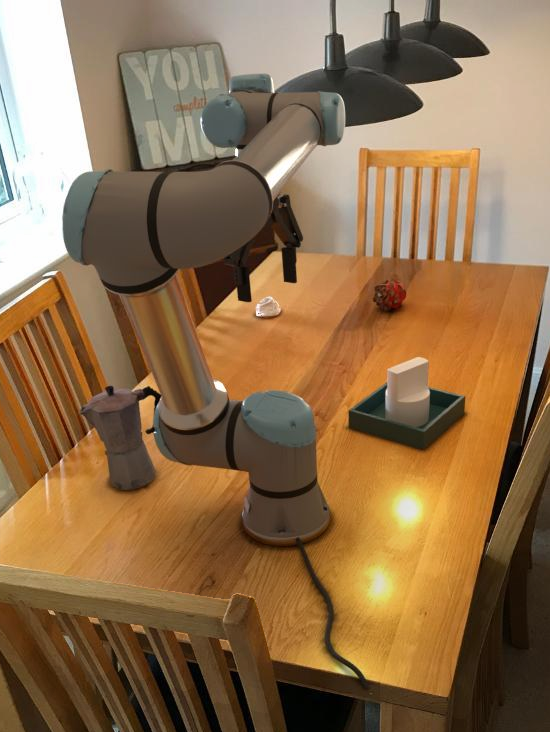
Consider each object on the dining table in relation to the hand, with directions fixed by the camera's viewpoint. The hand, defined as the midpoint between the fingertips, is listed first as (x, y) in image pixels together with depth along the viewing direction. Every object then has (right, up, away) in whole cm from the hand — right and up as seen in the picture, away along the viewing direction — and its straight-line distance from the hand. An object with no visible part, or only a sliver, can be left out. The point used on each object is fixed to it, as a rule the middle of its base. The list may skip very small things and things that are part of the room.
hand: (268, 291), depth 159 cm
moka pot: (-26, -35, +4) cm, 44 cm away
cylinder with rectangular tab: (+29, -22, +16) cm, 40 cm away
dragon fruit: (+31, +14, +69) cm, 77 cm away
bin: (+29, -23, +16) cm, 40 cm away
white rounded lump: (-2, +12, +70) cm, 71 cm away
